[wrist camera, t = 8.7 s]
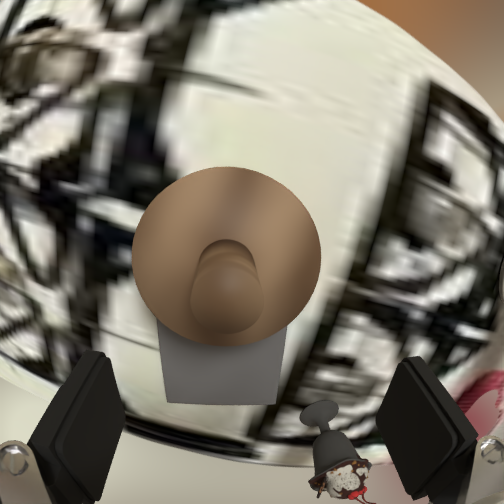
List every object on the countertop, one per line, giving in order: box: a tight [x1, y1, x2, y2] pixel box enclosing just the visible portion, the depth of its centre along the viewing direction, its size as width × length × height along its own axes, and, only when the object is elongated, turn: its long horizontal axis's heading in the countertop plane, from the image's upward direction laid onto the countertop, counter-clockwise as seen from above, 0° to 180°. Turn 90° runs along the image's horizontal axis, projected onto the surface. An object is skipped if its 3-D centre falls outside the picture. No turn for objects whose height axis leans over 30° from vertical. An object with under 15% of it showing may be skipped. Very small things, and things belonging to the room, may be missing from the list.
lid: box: [132, 167, 321, 346], centre depth 18 cm, size 12×12×6 cm
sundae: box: [300, 400, 376, 504], centre depth 26 cm, size 7×7×15 cm
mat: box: [157, 318, 287, 405], centre depth 29 cm, size 12×12×1 cm
